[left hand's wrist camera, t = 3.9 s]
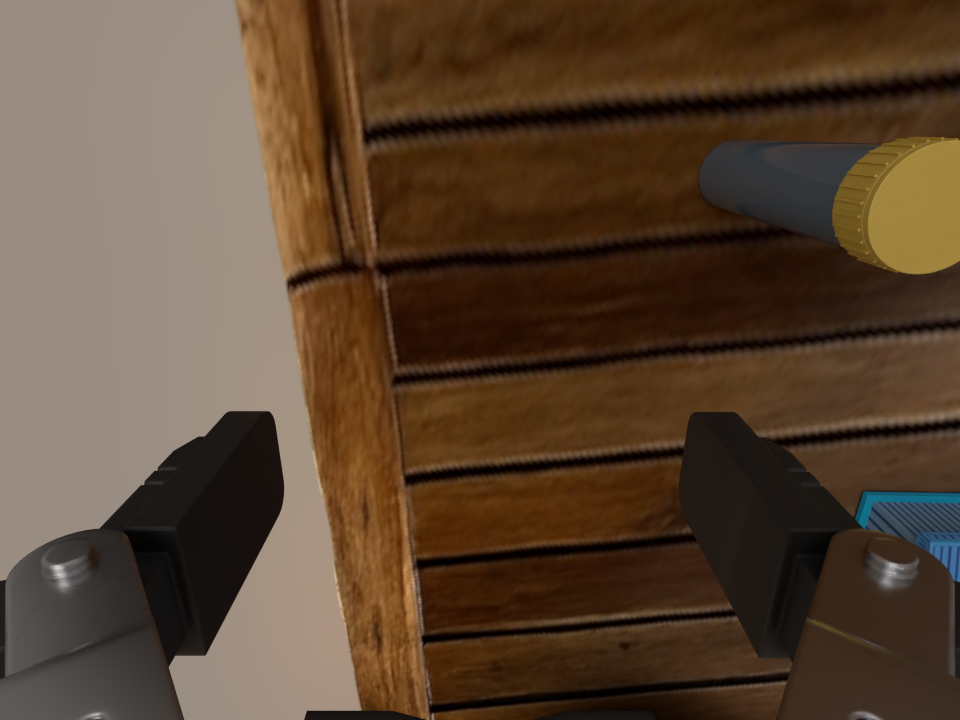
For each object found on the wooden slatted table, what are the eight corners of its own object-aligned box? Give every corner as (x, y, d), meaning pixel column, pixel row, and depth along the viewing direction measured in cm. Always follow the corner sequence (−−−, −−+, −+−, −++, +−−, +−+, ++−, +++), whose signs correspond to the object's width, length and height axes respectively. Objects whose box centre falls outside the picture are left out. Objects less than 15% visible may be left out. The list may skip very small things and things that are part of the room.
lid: (927, 109, 22) (977, 106, 19) (974, 214, 23) (1025, 222, 21) (808, 190, 23) (843, 197, 20) (860, 286, 24) (898, 301, 22)
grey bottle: (745, 124, 36) (962, 118, 20) (777, 180, 37) (1005, 219, 21) (686, 168, 37) (846, 197, 21) (718, 222, 38) (893, 289, 22)
